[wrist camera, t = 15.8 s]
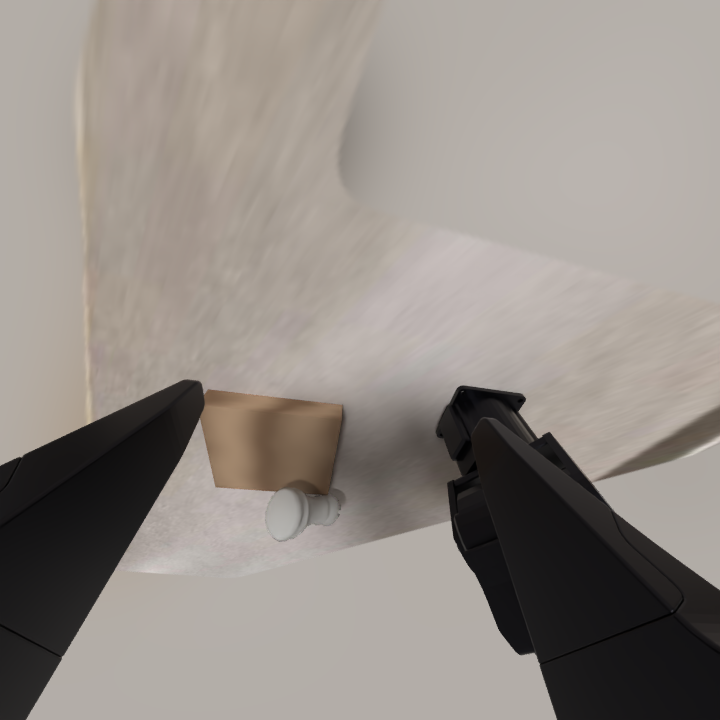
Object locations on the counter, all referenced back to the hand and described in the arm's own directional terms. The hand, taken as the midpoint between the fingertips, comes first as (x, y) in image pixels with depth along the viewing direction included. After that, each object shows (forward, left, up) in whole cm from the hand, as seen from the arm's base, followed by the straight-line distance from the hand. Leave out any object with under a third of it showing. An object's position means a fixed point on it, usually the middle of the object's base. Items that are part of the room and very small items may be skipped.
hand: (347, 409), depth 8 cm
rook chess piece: (+3, +20, -6) cm, 21 cm away
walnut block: (+5, +17, -13) cm, 22 cm away
